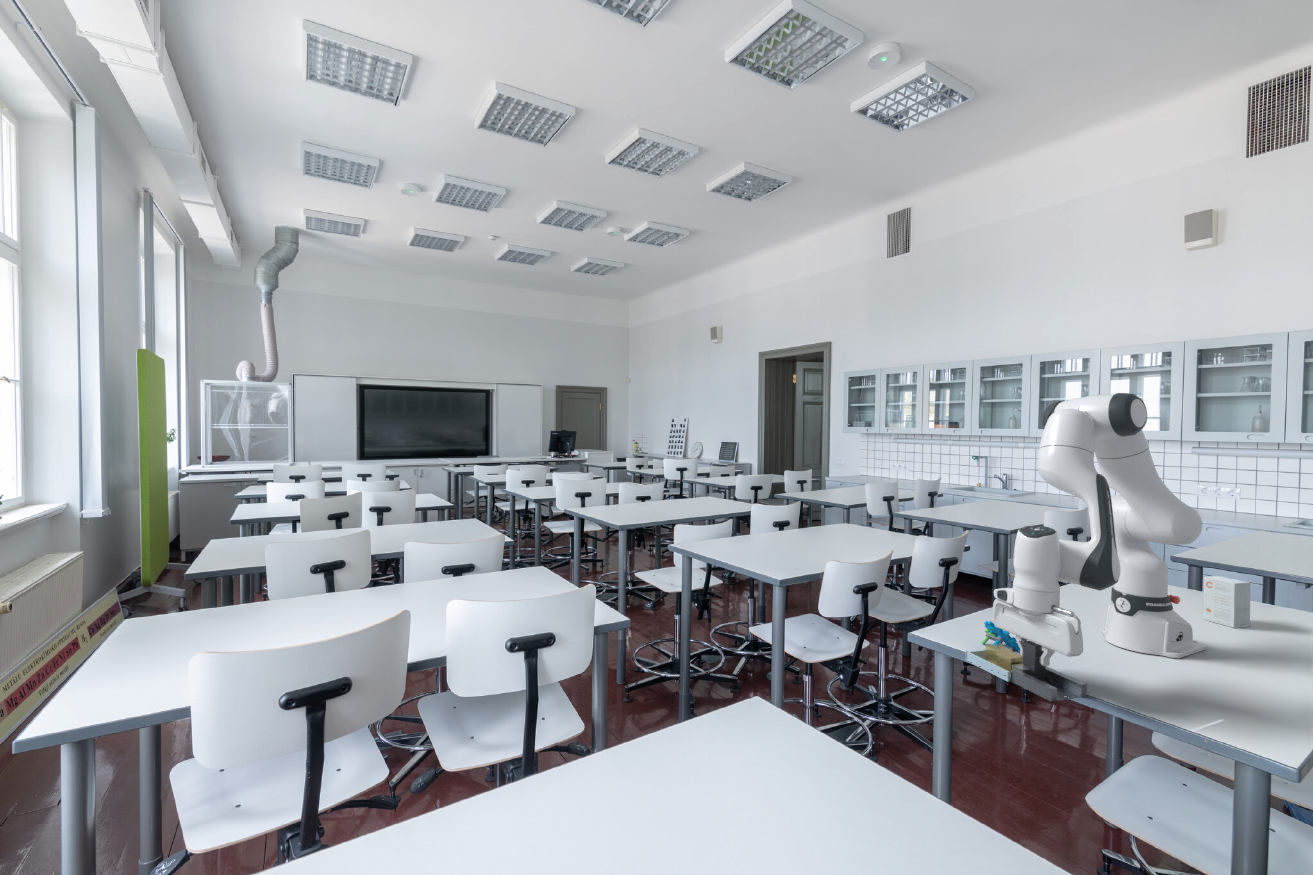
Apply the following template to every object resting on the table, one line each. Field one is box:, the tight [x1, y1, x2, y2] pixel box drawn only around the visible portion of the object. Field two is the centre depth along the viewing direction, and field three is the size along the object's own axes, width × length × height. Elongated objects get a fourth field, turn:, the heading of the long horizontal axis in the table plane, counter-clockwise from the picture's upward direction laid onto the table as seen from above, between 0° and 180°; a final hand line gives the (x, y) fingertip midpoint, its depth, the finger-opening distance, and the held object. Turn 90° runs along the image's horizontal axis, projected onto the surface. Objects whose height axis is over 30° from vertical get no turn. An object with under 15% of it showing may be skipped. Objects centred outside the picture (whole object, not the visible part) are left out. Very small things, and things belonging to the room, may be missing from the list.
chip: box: [997, 651, 1023, 677], centre depth 136 cm, size 4×4×4 cm
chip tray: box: [964, 648, 1011, 683], centre depth 138 cm, size 11×12×2 cm
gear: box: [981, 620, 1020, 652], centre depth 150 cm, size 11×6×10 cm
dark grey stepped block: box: [1012, 640, 1046, 681], centre depth 132 cm, size 5×5×8 cm
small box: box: [1202, 575, 1251, 629], centre depth 172 cm, size 8×6×13 cm
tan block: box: [984, 643, 1014, 665], centre depth 140 cm, size 4×4×4 cm
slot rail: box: [1010, 666, 1088, 703], centre depth 127 cm, size 10×10×3 cm
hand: (1034, 660), depth 131 cm, fingers closed on dark grey stepped block, 3 cm apart
